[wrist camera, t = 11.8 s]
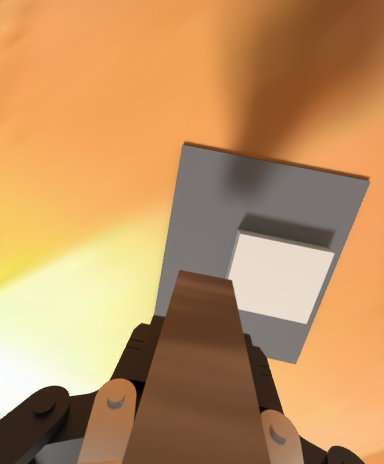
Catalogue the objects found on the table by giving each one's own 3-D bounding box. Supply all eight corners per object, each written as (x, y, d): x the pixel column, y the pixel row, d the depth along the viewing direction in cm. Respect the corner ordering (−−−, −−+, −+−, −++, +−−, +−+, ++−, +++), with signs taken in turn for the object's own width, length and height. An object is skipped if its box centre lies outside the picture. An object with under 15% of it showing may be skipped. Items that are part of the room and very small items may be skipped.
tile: (240, 233, 20) (334, 253, 20) (237, 228, 22) (324, 246, 22) (221, 305, 23) (306, 324, 22) (220, 295, 24) (298, 312, 24)
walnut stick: (179, 269, 14) (46, 714, 3) (232, 280, 14) (338, 786, 2) (171, 314, 15) (51, 777, 4) (220, 324, 15) (259, 831, 3)
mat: (182, 145, 21) (182, 144, 21) (367, 181, 20) (370, 181, 20) (152, 329, 27) (151, 331, 27) (294, 361, 26) (295, 364, 26)
